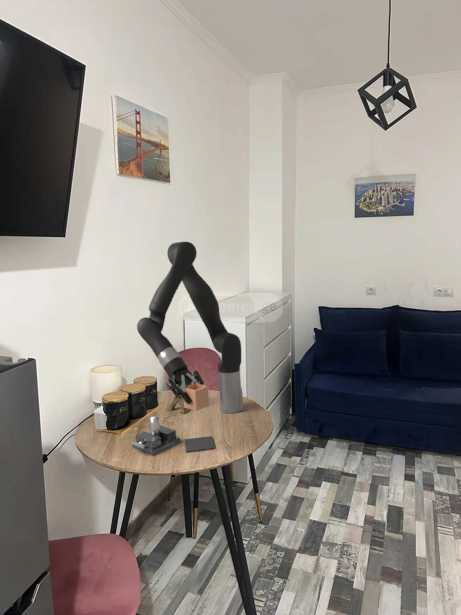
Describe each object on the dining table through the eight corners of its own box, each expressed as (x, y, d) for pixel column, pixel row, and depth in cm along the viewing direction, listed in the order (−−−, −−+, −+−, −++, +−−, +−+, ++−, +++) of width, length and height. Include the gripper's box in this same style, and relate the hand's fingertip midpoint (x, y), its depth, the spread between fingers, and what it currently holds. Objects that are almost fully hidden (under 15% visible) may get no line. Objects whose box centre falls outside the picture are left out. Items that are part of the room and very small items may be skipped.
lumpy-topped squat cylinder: (92, 428, 183) (89, 407, 181) (116, 416, 193) (114, 397, 192) (110, 432, 177) (108, 411, 176) (134, 420, 188) (132, 400, 186)
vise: (160, 434, 172) (158, 408, 170) (180, 441, 164) (178, 414, 163) (128, 449, 161) (125, 421, 159) (148, 457, 153) (145, 428, 152)
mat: (211, 437, 167) (211, 436, 167) (215, 449, 157) (215, 447, 157) (184, 440, 165) (184, 439, 165) (186, 452, 155) (186, 451, 155)
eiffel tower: (182, 403, 206) (178, 349, 202) (200, 406, 199) (196, 351, 196) (166, 410, 197) (161, 354, 194) (184, 414, 191) (179, 356, 187)
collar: (196, 402, 163) (195, 383, 162) (208, 405, 159) (207, 386, 158) (183, 407, 159) (182, 388, 158) (196, 410, 155) (195, 391, 154)
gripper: (161, 360, 157) (187, 400, 151) (191, 352, 168) (216, 388, 162) (152, 373, 161) (177, 412, 155) (182, 364, 172) (206, 400, 166)
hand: (197, 399), depth 158 cm, fingers closed on collar, 6 cm apart
